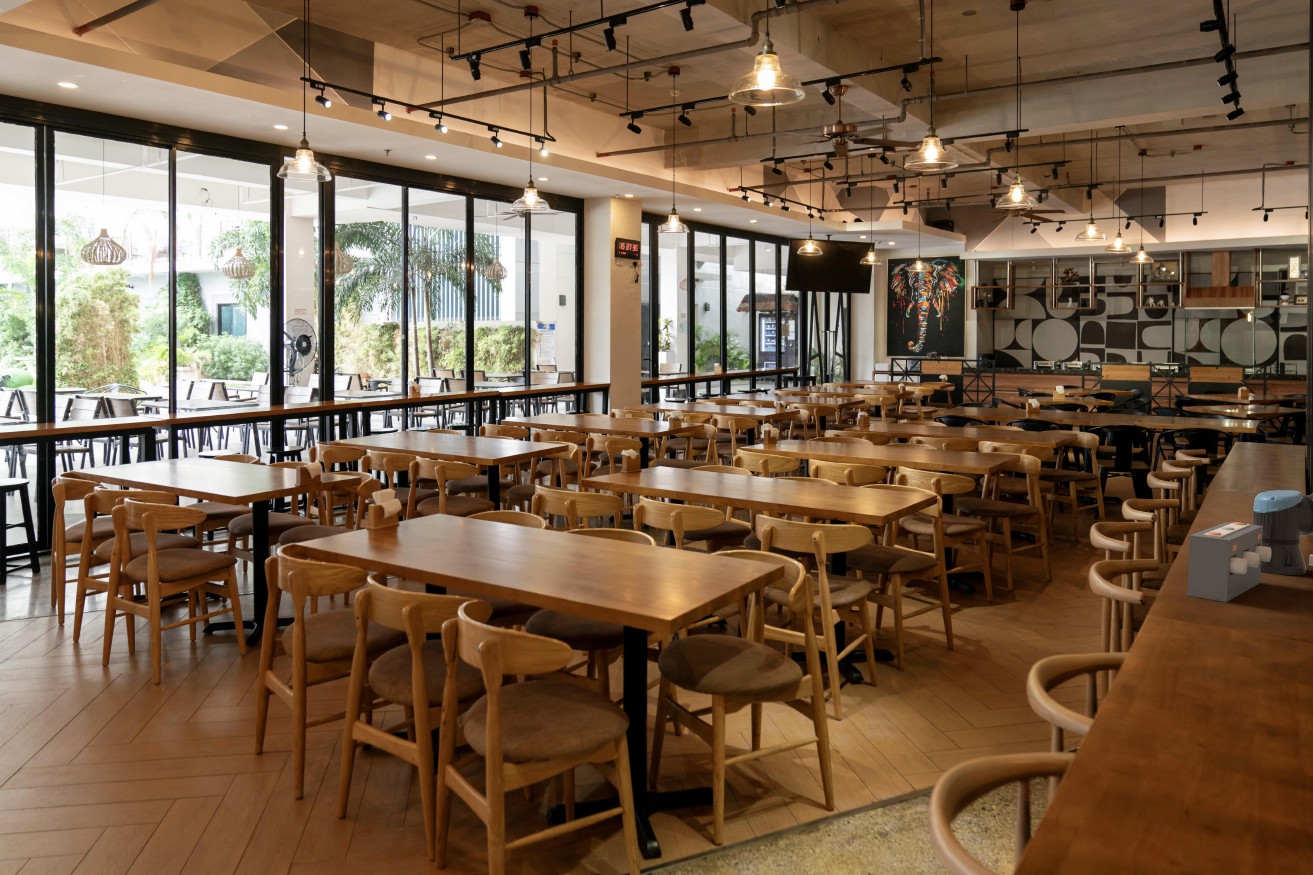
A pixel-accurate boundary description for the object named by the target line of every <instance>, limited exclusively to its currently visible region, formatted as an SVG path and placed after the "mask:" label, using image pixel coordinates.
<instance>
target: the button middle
mask: <svg viewBox="0 0 1313 875" xmlns="http://www.w3.org/2000/svg"><path fill="white" fill-rule="evenodd" d="M1243 559H1247V562H1248V567H1253V568H1258V566H1259V563H1260V555H1259V553H1255V552H1247V551H1243Z"/></svg>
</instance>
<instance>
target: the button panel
mask: <svg viewBox="0 0 1313 875" xmlns="http://www.w3.org/2000/svg"><path fill="white" fill-rule="evenodd" d="M1262 535H1263V526H1258V525H1253V524H1250V523H1246V522H1241V521H1239V522H1238V521H1237V522H1235V521H1234V522H1230V521H1224V522H1222V523H1220V524H1217V525H1214V526H1212V527H1208V528H1206V529H1203V530H1201V531H1198V532H1195V533H1192V534H1190V535H1189V544H1188V545H1189V547H1188V548H1189V550H1188V551H1189V552H1188V567H1187V568H1188V572H1187V589H1186V590H1187V591H1186V592H1187V595H1186V596H1187V597H1194V598H1200V599H1206V600H1211V601H1216V602H1217V601H1219V602H1224V603H1227V602H1230V601H1231V600H1233V599H1234V598H1236V597H1238V596H1240V595H1242V594H1243V593H1245V592H1247V591H1249V590H1251V589H1252V588H1254V587H1256V586H1258V585H1259V584H1261V573H1262V572H1261V561H1260V563H1259V566H1258V568H1253V567H1247V572H1246V574H1245V575H1244V574H1237V573H1230V557H1235V558H1242V559H1243V551H1247V552H1255V545H1256V546H1262Z"/></svg>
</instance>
